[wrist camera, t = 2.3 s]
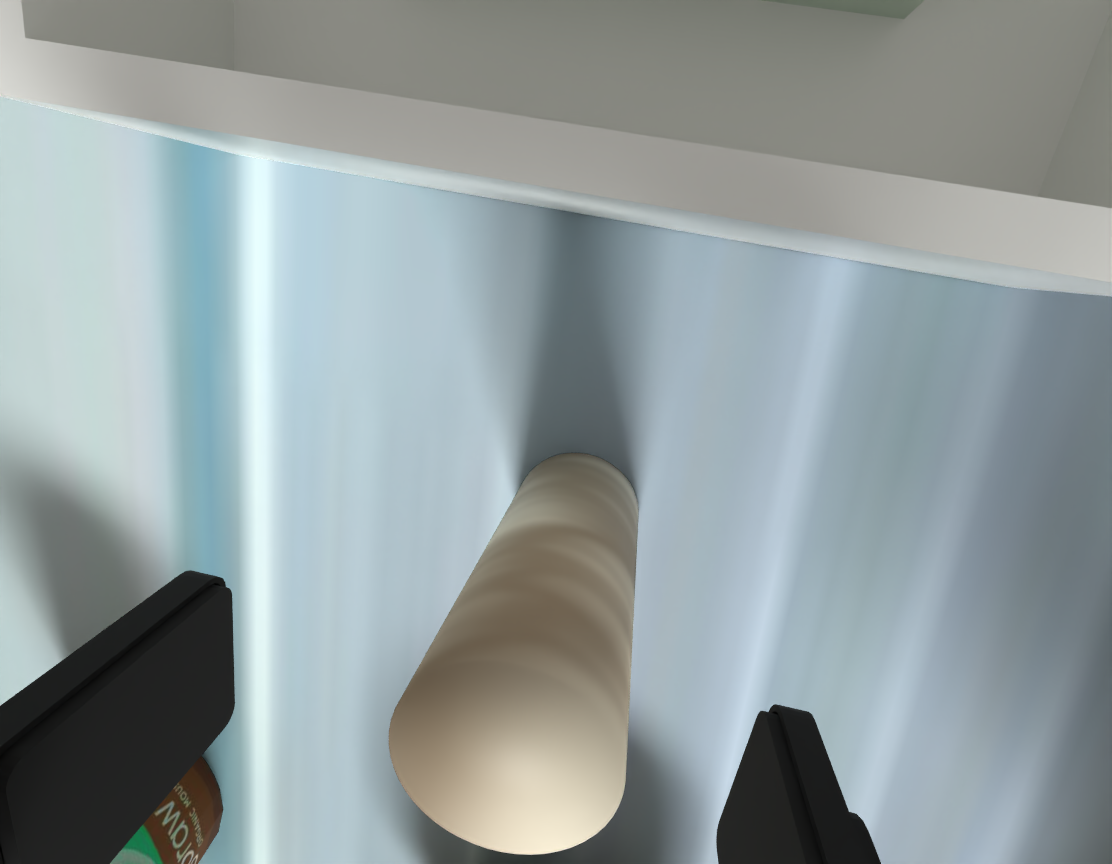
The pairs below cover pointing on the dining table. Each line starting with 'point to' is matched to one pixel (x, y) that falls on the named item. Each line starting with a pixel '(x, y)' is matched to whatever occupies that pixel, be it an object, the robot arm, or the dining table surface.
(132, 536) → the dining table surface
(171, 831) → the food container
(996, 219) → the box
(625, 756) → the peg
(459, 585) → the dining table surface
